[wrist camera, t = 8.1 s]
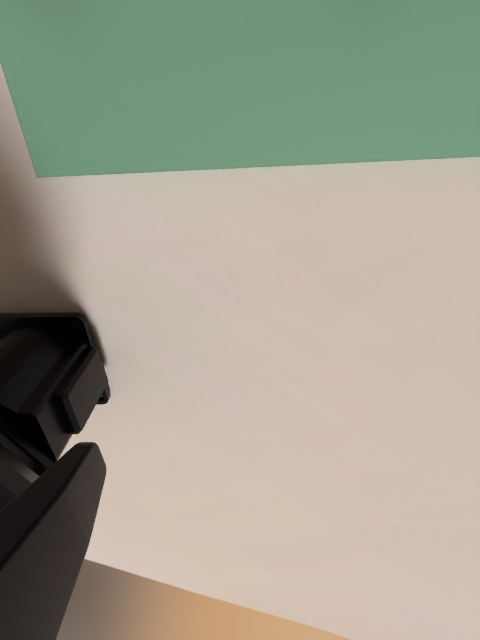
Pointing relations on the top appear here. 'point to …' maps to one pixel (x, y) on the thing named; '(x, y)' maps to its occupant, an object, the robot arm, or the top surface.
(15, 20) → the pitch
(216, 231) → the top surface
